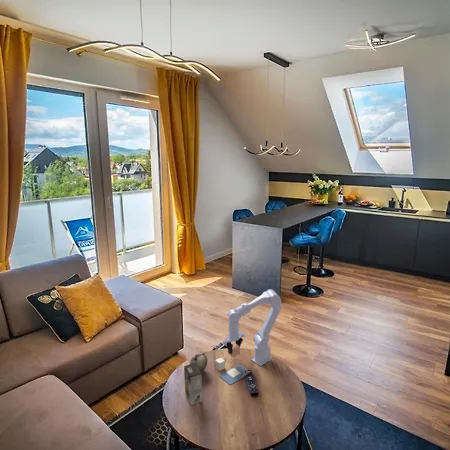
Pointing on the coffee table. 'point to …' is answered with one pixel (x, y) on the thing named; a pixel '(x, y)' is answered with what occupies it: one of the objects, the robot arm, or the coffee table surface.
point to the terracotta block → (235, 350)
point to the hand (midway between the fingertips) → (233, 351)
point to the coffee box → (193, 383)
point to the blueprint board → (233, 374)
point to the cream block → (220, 364)
